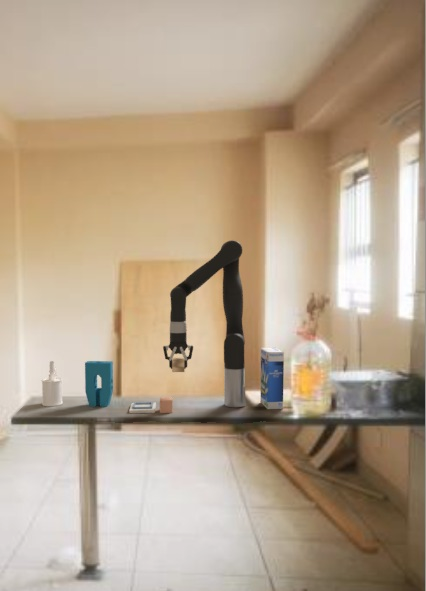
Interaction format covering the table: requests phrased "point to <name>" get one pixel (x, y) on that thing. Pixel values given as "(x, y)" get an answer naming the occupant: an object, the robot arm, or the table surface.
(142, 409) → the blueprint baseplate
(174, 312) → the robot arm
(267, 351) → the string lights box
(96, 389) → the block
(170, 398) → the terracotta block
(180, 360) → the maple block
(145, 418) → the table surface
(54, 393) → the white nozzle bottle
